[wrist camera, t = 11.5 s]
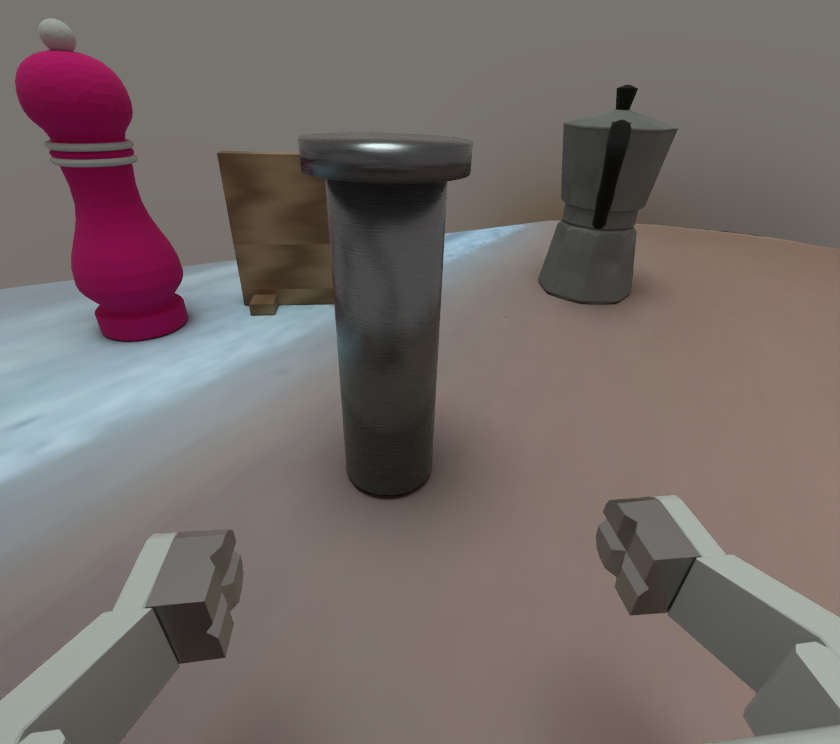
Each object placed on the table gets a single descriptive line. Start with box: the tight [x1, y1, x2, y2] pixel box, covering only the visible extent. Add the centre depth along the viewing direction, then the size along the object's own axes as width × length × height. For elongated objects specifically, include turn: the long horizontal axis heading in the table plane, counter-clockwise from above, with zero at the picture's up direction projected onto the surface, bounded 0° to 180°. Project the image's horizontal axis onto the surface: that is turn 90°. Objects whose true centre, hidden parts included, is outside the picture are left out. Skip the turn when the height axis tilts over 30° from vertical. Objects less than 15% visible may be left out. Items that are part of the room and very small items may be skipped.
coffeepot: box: [538, 85, 678, 304], centre depth 42 cm, size 15×9×18 cm, turn 160°
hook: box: [298, 133, 473, 495], centre depth 26 cm, size 6×20×15 cm, turn 6°
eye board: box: [217, 151, 334, 315], centre depth 40 cm, size 16×6×12 cm, turn 96°
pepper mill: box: [15, 18, 188, 341], centre depth 32 cm, size 7×7×20 cm
